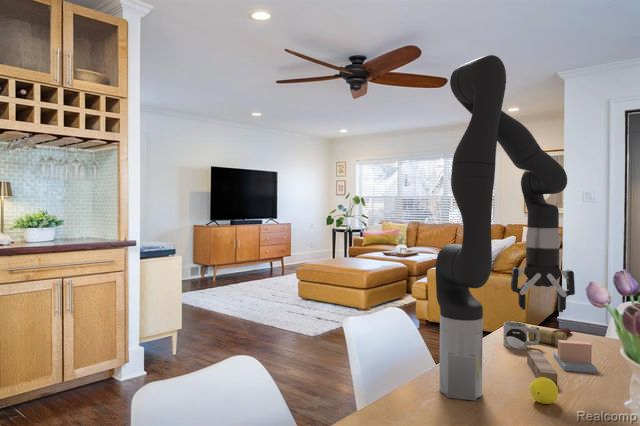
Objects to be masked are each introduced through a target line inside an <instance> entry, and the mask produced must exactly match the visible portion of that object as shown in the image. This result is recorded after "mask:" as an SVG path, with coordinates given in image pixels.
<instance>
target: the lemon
mask: <svg viewBox="0 0 640 426" xmlns="http://www.w3.org/2000/svg"><path fill="white" fill-rule="evenodd" d="M529 391H530V394H531V397H532V398H533V399H534V400H535V401H536V402H538V403H539V404H542V405H544V404H545V405H547V404H549V405H550V404H553V403H554V402H556V401H557V398H558V396H559V389H558V385H557V386H556V384H555V383H554V382H553V381H552V380H550V379H548V378H545V377H539V378H536V377H535V379H533V381H532V382H531V383H530V386H529Z"/></svg>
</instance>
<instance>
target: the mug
mask: <svg viewBox="0 0 640 426" xmlns="http://www.w3.org/2000/svg"><path fill="white" fill-rule="evenodd" d="M528 332H534V333H535V334H536V340H535V341H530V340H528ZM539 339H540V336H539V331H538V330H537V329H533V328H530V327H528V324H526V323H524V322H517V321H504V322H503V347H504V348H507V349H510V350H516V351H517V350H519V351H520V350H521V351H522V350H523V351H524V350H528V346H537V345H539V343H540V342H539Z"/></svg>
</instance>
